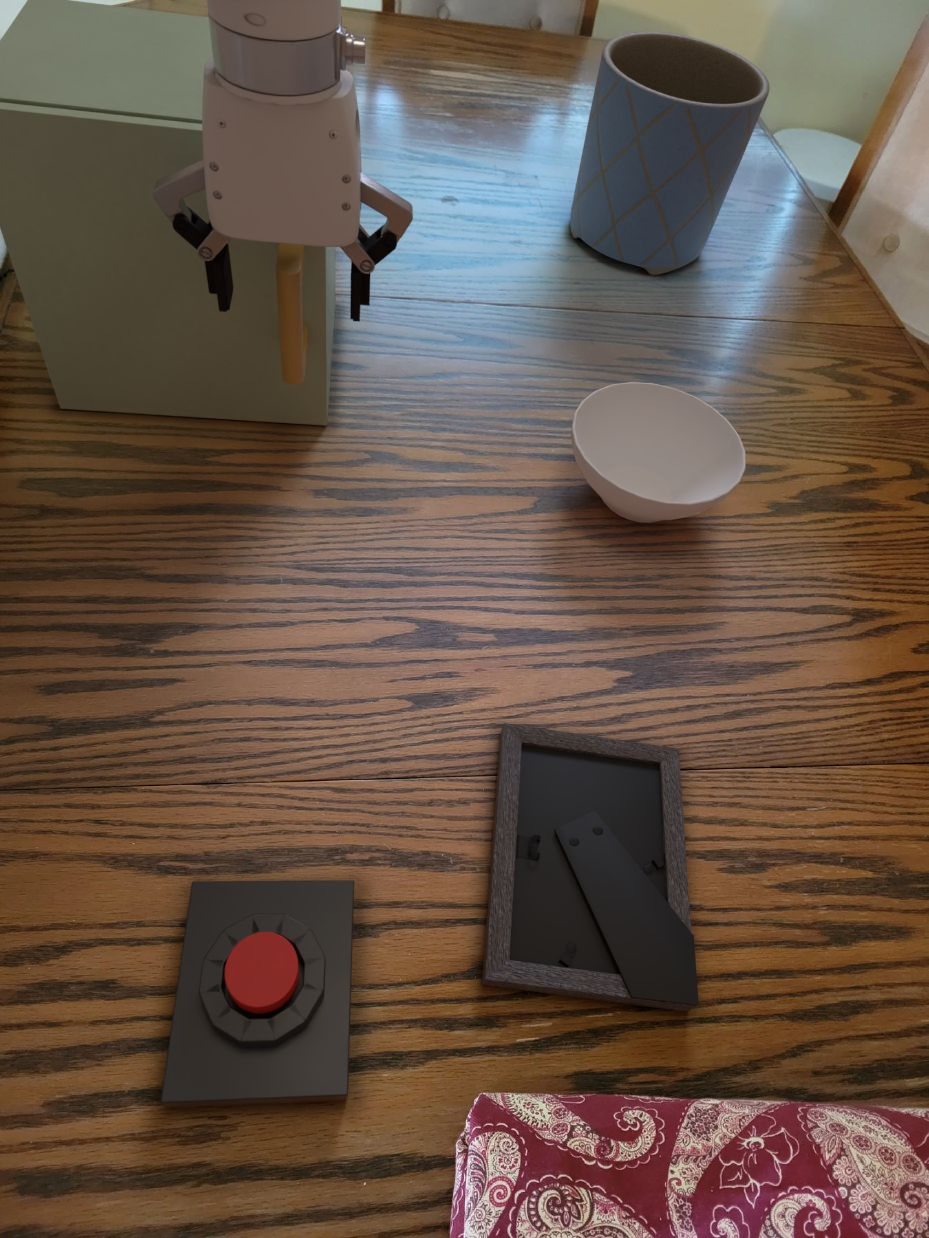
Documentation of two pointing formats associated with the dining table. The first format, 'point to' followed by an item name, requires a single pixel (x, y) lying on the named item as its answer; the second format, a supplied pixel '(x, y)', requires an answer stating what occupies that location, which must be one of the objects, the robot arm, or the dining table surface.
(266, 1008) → the button
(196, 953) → the switch block
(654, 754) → the picture frame
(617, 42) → the planter
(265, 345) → the cabinet door
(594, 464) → the bowl
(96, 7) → the cabinet
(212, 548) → the dining table surface
